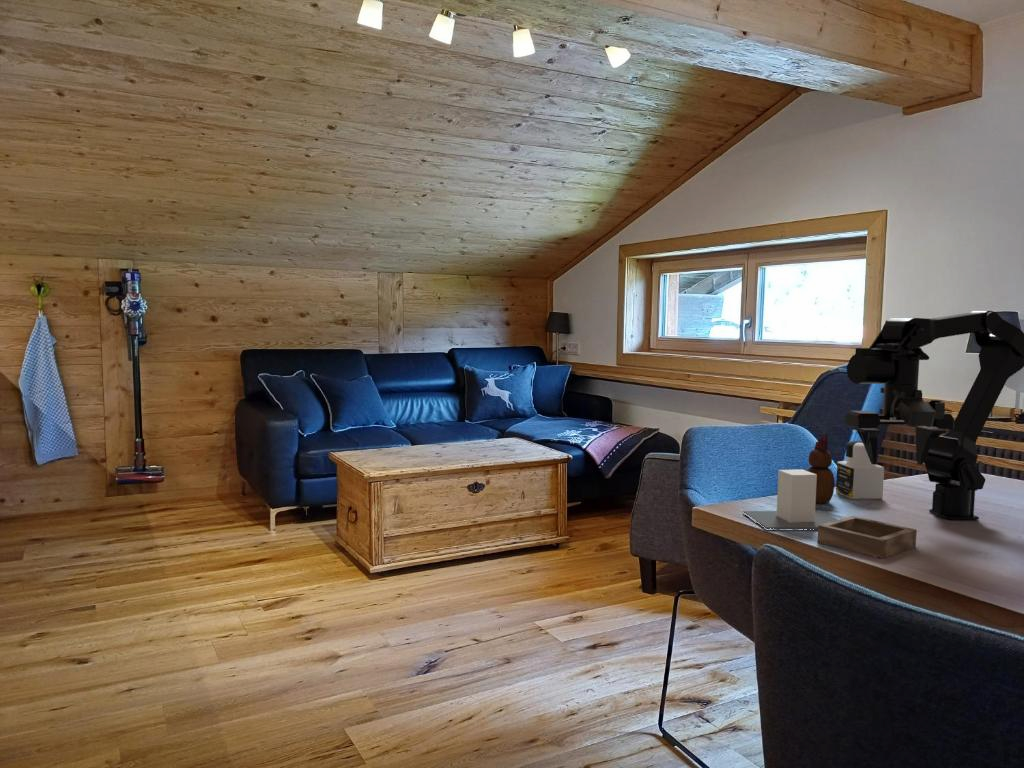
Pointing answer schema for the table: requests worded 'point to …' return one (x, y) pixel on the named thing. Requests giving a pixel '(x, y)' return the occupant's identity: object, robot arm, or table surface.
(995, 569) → the table surface
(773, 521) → the slate mat
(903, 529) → the wooden tray
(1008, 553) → the table surface
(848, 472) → the medicine bottle
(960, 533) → the table surface
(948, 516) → the robot arm
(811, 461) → the wooden figurine
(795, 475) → the white block
